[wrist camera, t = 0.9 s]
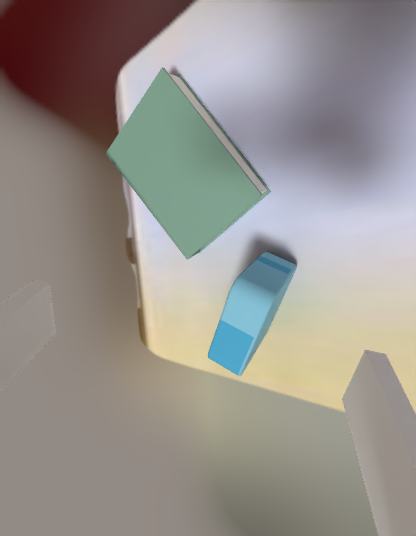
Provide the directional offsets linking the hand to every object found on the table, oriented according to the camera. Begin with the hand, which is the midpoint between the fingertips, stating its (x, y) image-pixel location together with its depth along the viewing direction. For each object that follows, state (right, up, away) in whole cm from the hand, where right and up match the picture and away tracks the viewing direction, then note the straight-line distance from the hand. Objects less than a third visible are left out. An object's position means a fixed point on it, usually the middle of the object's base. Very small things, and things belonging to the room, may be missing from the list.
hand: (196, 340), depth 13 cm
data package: (+9, 0, +31) cm, 32 cm away
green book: (-2, +17, +30) cm, 35 cm away
